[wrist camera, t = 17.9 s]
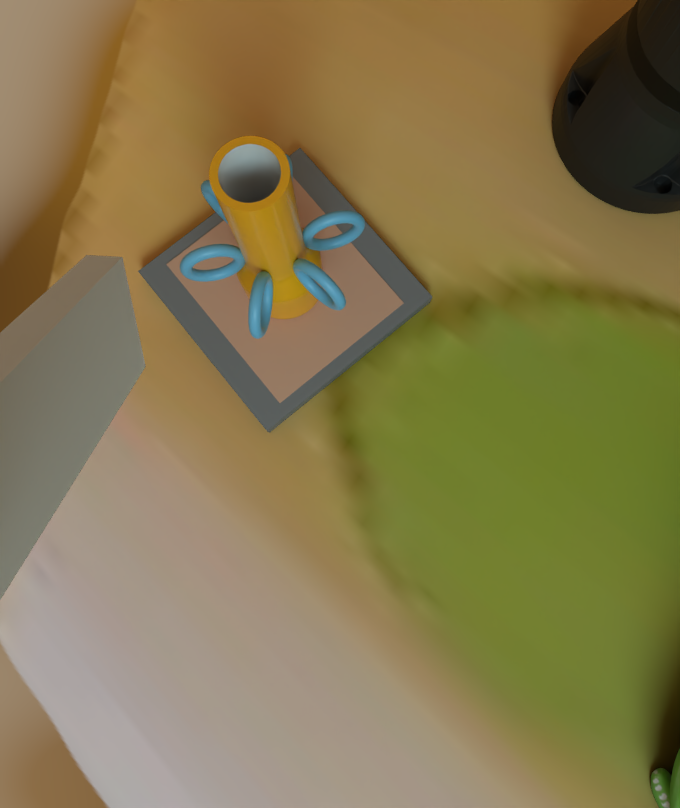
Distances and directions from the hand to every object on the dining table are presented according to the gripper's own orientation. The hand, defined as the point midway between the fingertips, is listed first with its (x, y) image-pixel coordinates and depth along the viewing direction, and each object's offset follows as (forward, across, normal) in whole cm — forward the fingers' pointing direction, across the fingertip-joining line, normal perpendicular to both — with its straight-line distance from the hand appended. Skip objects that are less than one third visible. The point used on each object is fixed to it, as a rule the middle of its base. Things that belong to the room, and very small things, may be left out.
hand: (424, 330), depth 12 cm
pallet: (+29, -7, -13) cm, 33 cm away
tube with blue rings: (+28, -7, -12) cm, 32 cm away
